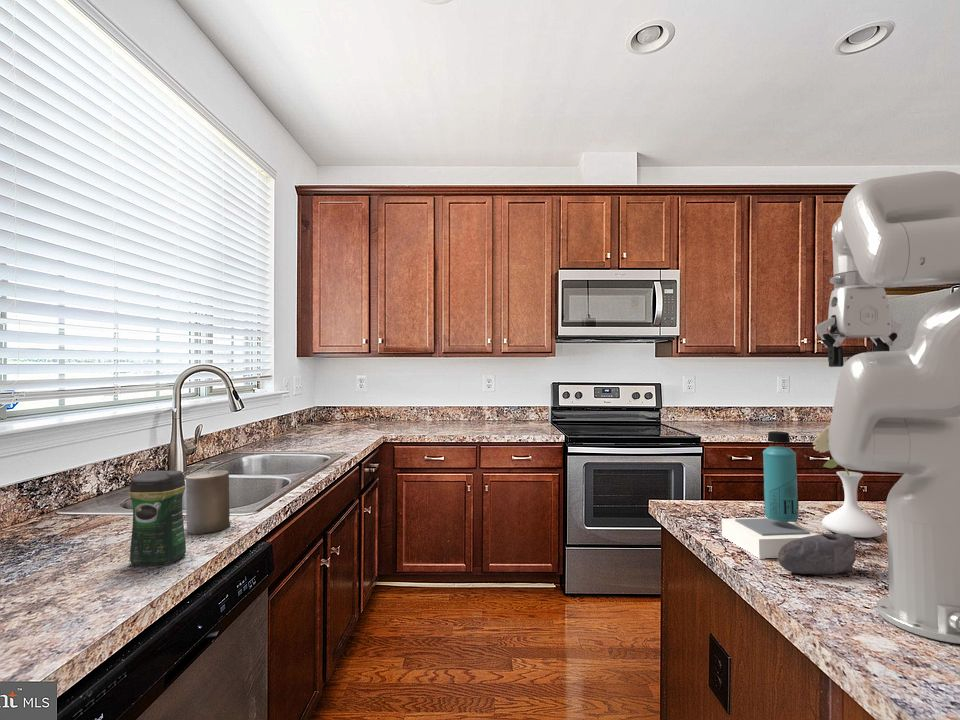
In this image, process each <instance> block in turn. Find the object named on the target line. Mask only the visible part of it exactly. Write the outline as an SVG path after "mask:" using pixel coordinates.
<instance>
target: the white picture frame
mask: <svg viewBox="0 0 960 720" xmlns="http://www.w3.org/2000/svg"><path fill="white" fill-rule="evenodd" d="M813 535H820V533H818V532H816V531H813V530H812V529H809V528H807V527H804V526H802V525H800V524H798V523H796V522H782V521H776V520H772V519H769V518H767V517H766V516H765V517H763V516H762V517H737V518H735V517H733V518H729V517H728V518H721V537H723V538H725V539H726V540H727V539H728V541H729V542H730V543H732V542H733V543H732V544H734V545H735V544H736V546H737V547H739V548H740V547H741V548H740V549H742V548H743V549H745V550H746V552H747V551H748V552H750V553H751V554H750V553H749V554H750V555H752V554H753V555H754V556H753V555H752V556H753V557H755V556H756V557H758V558H759V559H758V558H757V559H758V560H766V559H765V558H778V553H779V551H780V549H781V548H782V547H783V546H784V545H785V544H787V543H788V542H790V541H793V540H796V539H799V538H803V537H808V536H813ZM743 549H742V550H743ZM745 550H744V551H745ZM748 552H747V553H748ZM756 557H755V558H756Z"/></svg>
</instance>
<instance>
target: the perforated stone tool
mask: <svg viewBox="0 0 960 720" xmlns="http://www.w3.org/2000/svg"><path fill="white" fill-rule="evenodd" d="M819 534H820V533H819ZM855 546H856V539H855V537H852V536H851V535H849V534H838V533H825V534H823V533H822V534H820V535H813V536H808V537H803V538H799V539H796V540H793V541H790V542H788V543H787V544H785V545H784V546H783V547H782V548H781V549H780V551H779V553H778V559H777V561H778V563H779V565H780V567H781V568H783V569H784V570H786V571H788V572H790V573H794V574H798V575H799V574H800V575H807V574H810V573H811V575H817V576H818V575H820V576H821V575H826V576H827V575H836V574H839V573H850V572H853V566H854V563H855V561H856V556H857V555H856V550H855Z"/></svg>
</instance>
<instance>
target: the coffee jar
mask: <svg viewBox="0 0 960 720" xmlns="http://www.w3.org/2000/svg"><path fill="white" fill-rule="evenodd" d="M129 487H130V488H129V497H130V500H131V503H132V526H131V529H132V530H131V537H130V538H131V541H130V550H129V562H130V564H131V565H134V566H155V565H156V566H157V565H164V564H168V563H171V562H175V561H177V560H179V559H181V558H182V557H183V556H184V555H185V554H186V552H187V543H186V534H185V526H184V525H185V524H184V516H183V515H184V514H183V498H184V493H185V491H186V479H185V475H184V472H183V471H182V470H149V471H143V472H141V473H140V472H139V473H136V474H134V475H133V476H132V478H131V481H130V484H129Z"/></svg>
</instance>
